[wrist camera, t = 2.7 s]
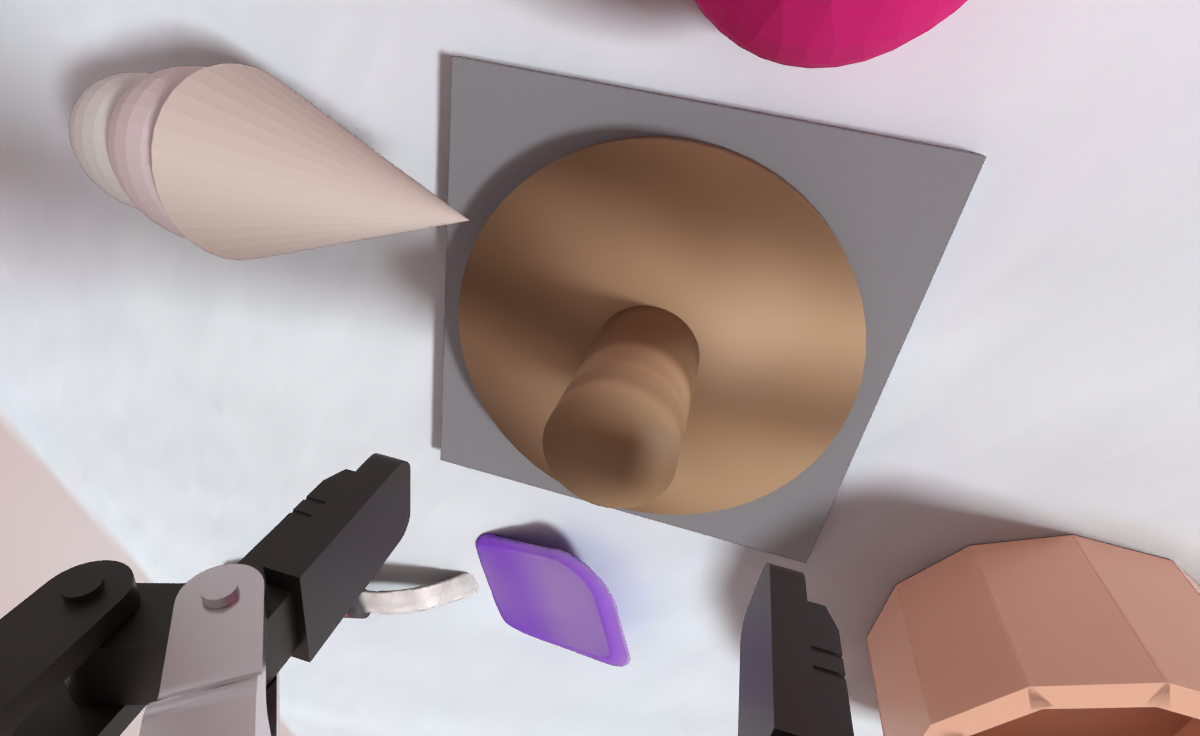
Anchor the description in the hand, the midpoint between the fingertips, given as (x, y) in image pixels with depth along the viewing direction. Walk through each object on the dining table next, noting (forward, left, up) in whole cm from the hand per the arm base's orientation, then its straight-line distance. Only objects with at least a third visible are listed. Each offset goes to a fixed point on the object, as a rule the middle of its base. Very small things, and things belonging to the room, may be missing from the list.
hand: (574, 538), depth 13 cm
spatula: (+17, -10, -11) cm, 23 cm away
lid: (0, 0, -10) cm, 10 cm away
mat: (0, 0, -11) cm, 11 cm away
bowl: (+10, +18, -11) cm, 23 cm away
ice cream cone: (-4, -13, -11) cm, 17 cm away
